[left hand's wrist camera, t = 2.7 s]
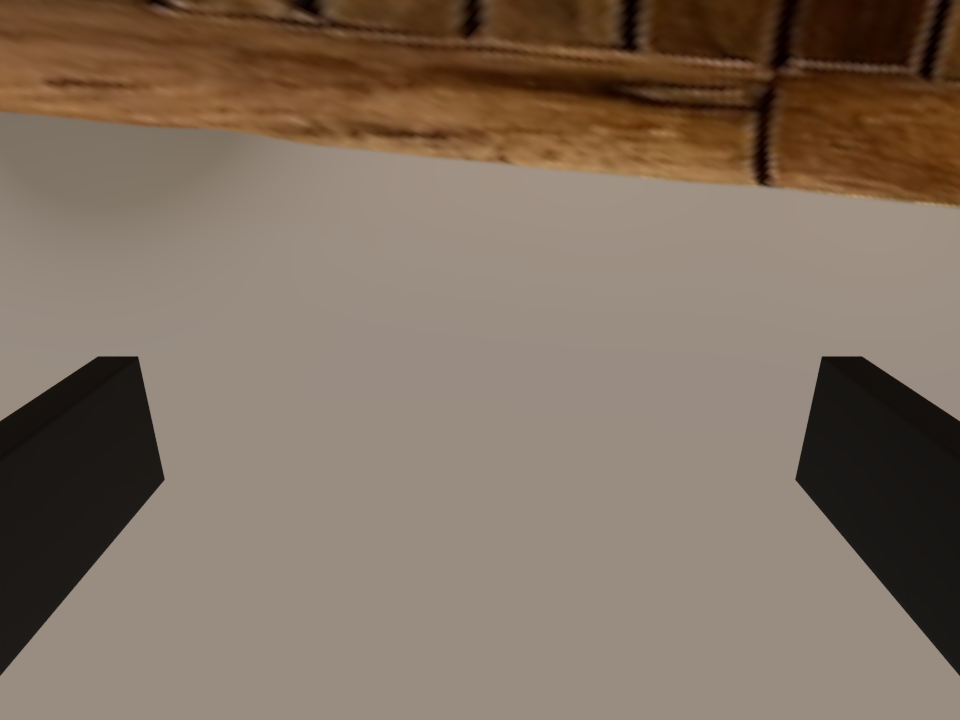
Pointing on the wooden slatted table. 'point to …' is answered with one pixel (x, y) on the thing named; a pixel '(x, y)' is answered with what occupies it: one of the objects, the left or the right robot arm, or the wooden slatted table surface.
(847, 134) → the wooden slatted table surface
